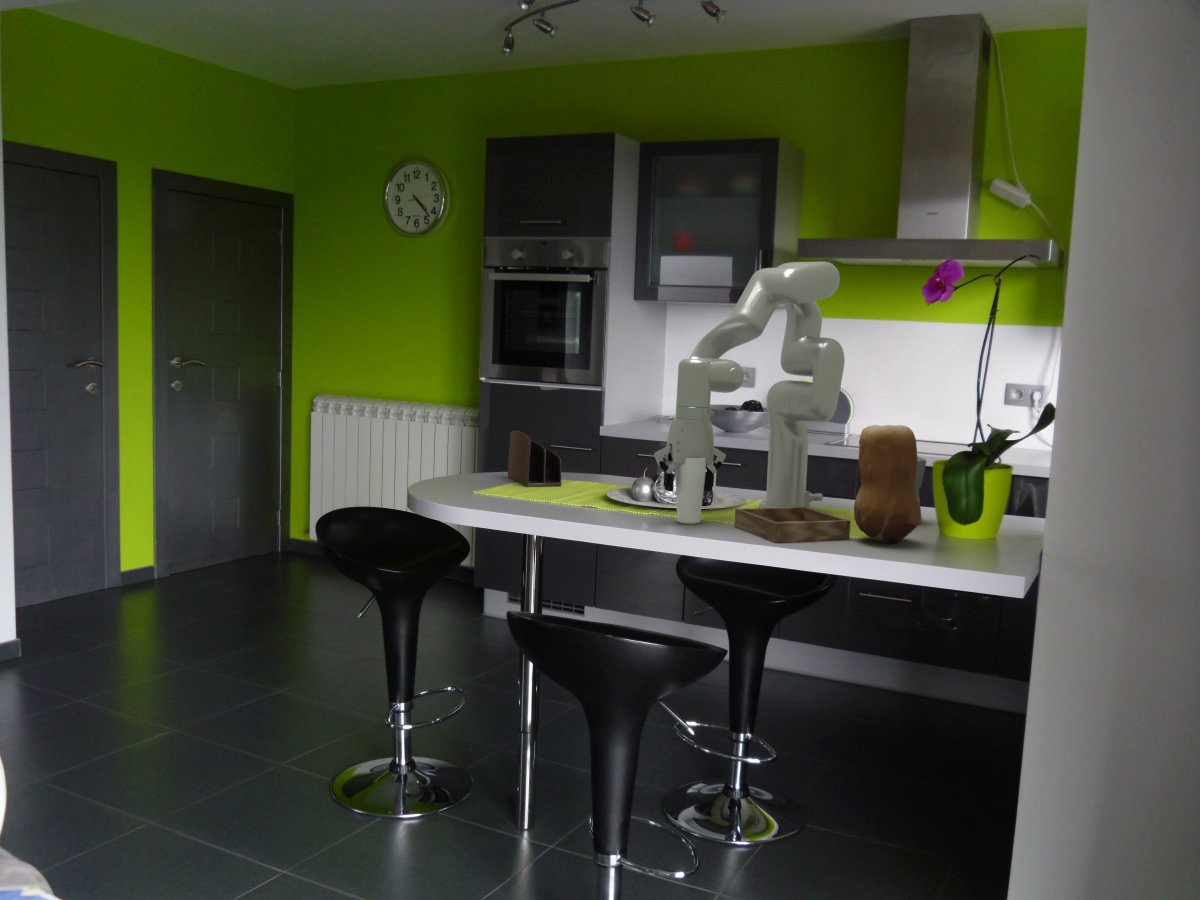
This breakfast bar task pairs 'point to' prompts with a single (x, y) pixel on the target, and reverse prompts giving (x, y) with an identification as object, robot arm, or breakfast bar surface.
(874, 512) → the butternut squash
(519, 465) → the letter holder
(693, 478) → the drinking glass
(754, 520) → the walnut tray
